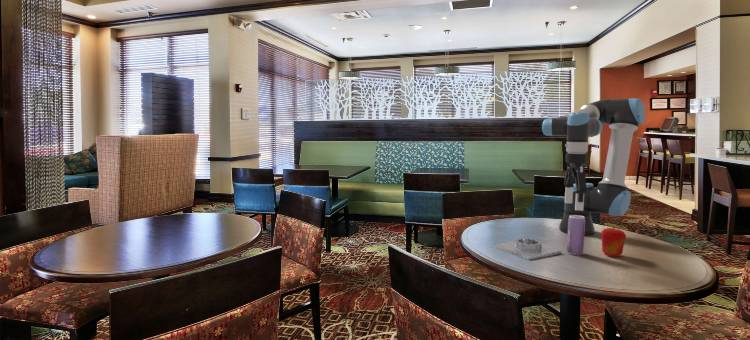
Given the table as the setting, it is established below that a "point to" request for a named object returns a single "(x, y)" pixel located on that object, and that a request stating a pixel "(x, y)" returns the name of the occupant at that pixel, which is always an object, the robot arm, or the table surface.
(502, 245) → the duct flange
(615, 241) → the red bell pepper
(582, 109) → the robot arm
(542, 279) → the table surface
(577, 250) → the beverage can
